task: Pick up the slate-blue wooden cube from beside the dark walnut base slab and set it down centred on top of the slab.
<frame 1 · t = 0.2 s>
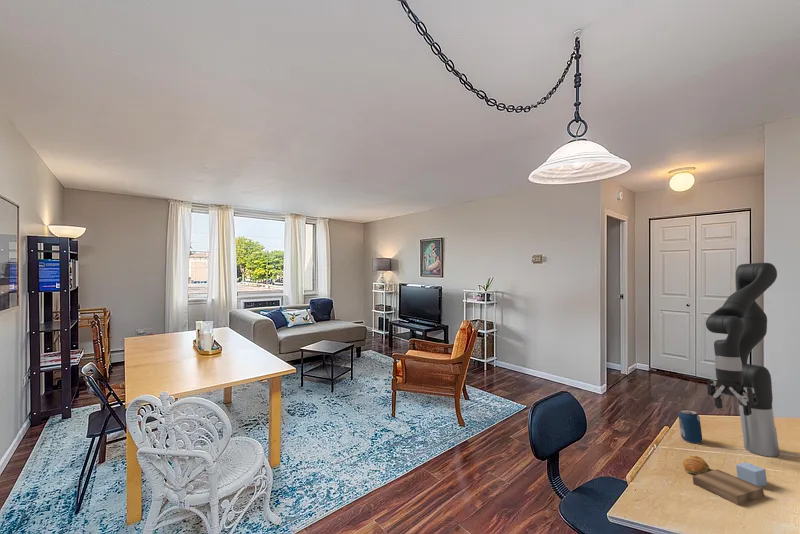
hand: (732, 411, 127), 17 cm above the table, tool pointing down, fingers open, 8 cm apart
blue cube: (752, 482, 111), on the table
walnut base: (727, 491, 108), on the table
pastry: (696, 470, 120), on the table
soda can: (691, 441, 142), on the table
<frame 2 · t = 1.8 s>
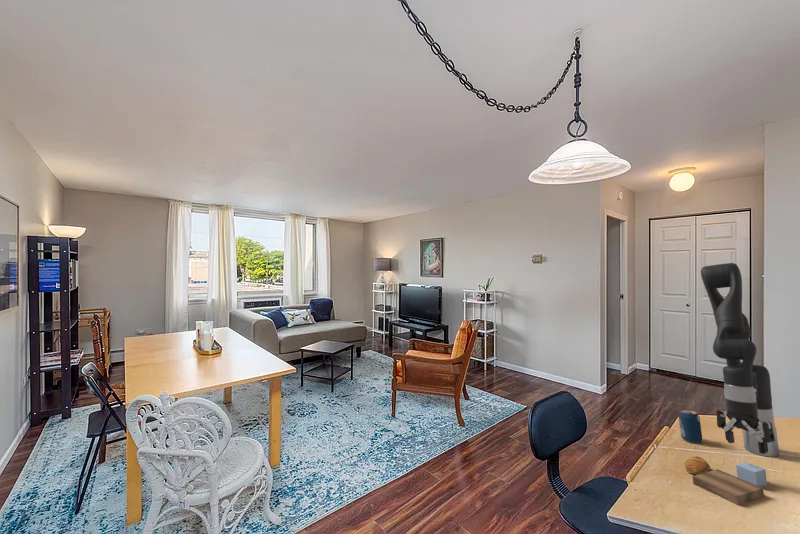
hand: (746, 447, 112), 11 cm above the table, tool pointing down, fingers open, 8 cm apart
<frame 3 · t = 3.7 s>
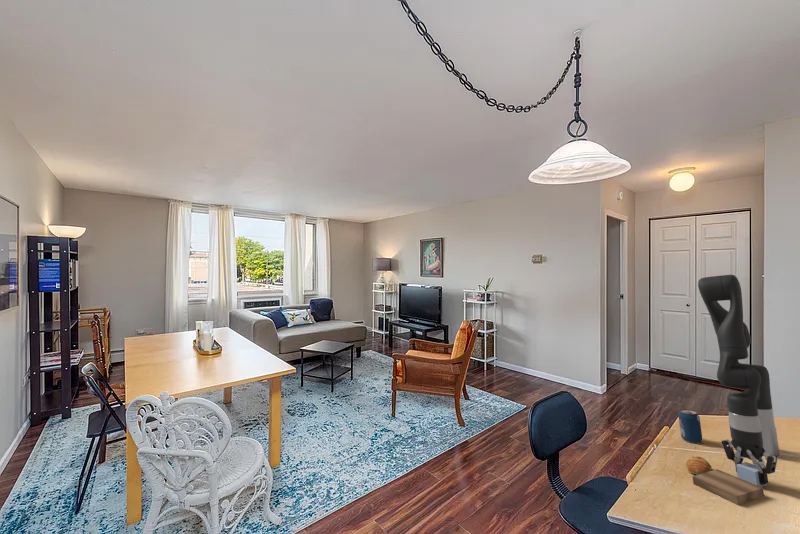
hand: (752, 479, 111), 1 cm above the table, tool pointing down, fingers closed on blue cube, 5 cm apart
blue cube: (752, 482, 111), on the table, touching gripper
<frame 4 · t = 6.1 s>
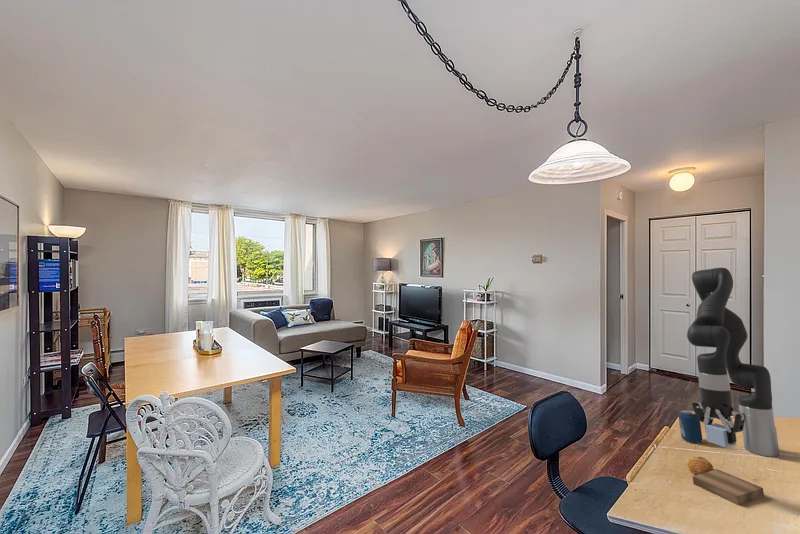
hand: (720, 439, 109), 16 cm above the table, tool pointing down, fingers closed on blue cube, 5 cm apart
blue cube: (721, 442, 109), point 15 cm above the table, touching gripper
when the fingers open (5 cm above the table, at t = 8.6 s): blue cube drops 2 cm, point 2 cm above the table.
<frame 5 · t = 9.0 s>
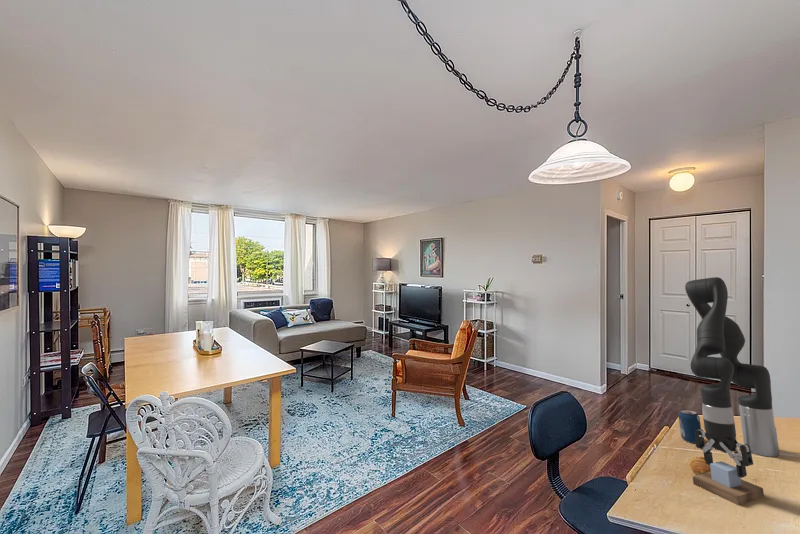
hand: (724, 470, 108), 6 cm above the table, tool pointing down, fingers open, 8 cm apart
blue cube: (726, 482, 108), point 2 cm above the table
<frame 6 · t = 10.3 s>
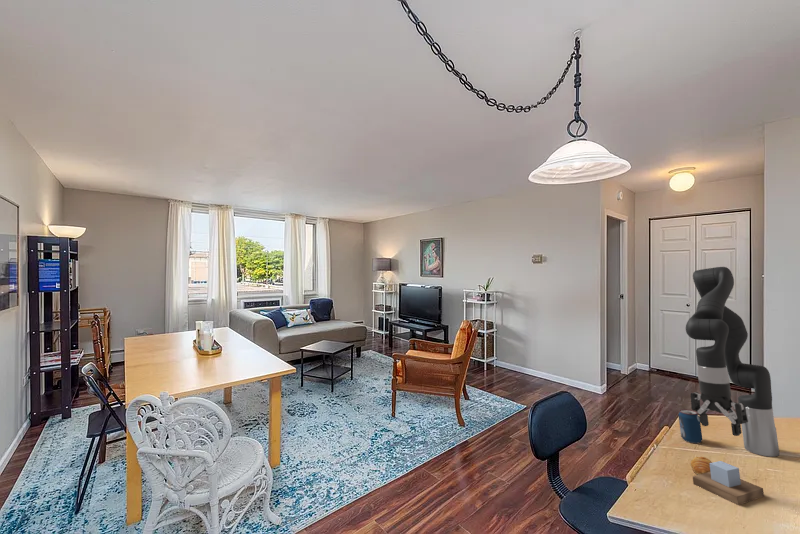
hand: (720, 430, 109), 19 cm above the table, tool pointing down, fingers open, 8 cm apart
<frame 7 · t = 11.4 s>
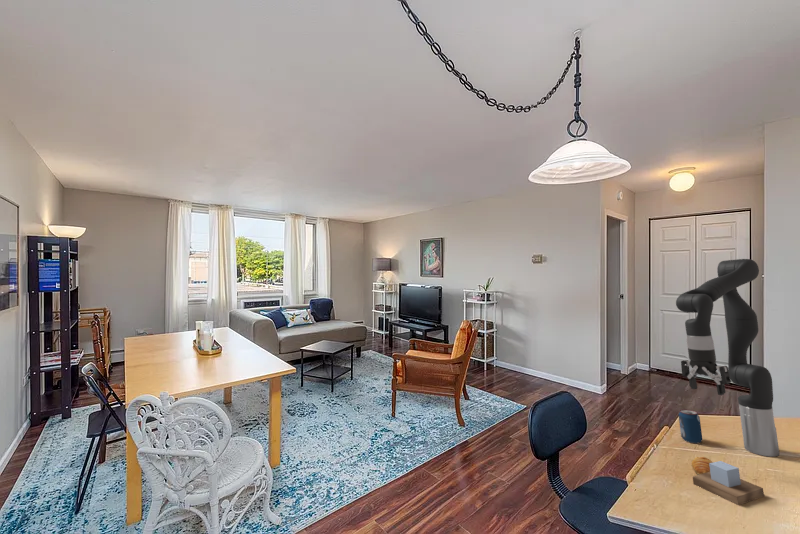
hand: (707, 391, 124), 27 cm above the table, tool pointing down, fingers open, 8 cm apart
blue cube: (725, 481, 108), point 2 cm above the table, touching walnut base
walnut base: (727, 491, 108), on the table, touching blue cube
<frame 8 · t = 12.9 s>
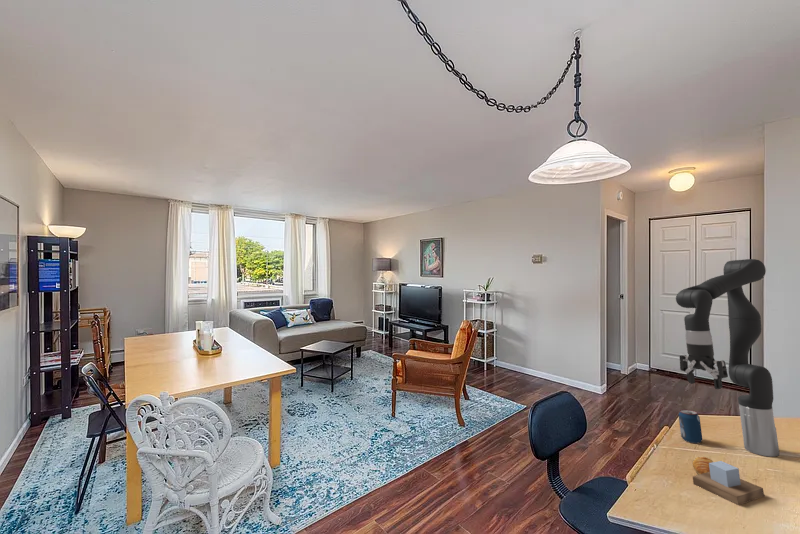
hand: (704, 386, 126), 28 cm above the table, tool pointing down, fingers open, 8 cm apart
at the end: blue cube 0.2 cm off-centre on the walnut base, point 3.0 cm above the walnut base's base; blue cube tilted 0°; the gripper is holding nothing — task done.
